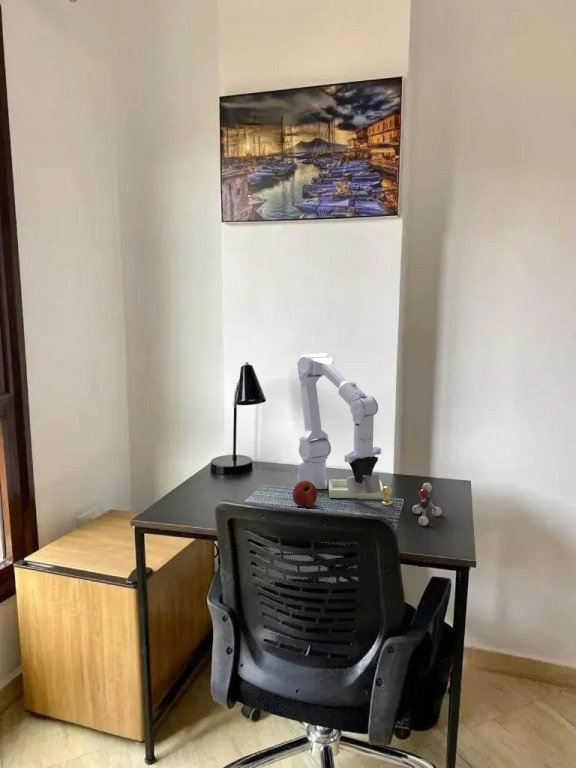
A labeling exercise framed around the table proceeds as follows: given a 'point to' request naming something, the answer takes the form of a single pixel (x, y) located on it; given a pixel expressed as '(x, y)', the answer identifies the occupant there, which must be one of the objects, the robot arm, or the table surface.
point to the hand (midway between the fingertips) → (362, 481)
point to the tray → (341, 491)
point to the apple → (305, 494)
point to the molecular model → (425, 504)
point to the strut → (364, 484)
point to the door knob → (386, 495)
